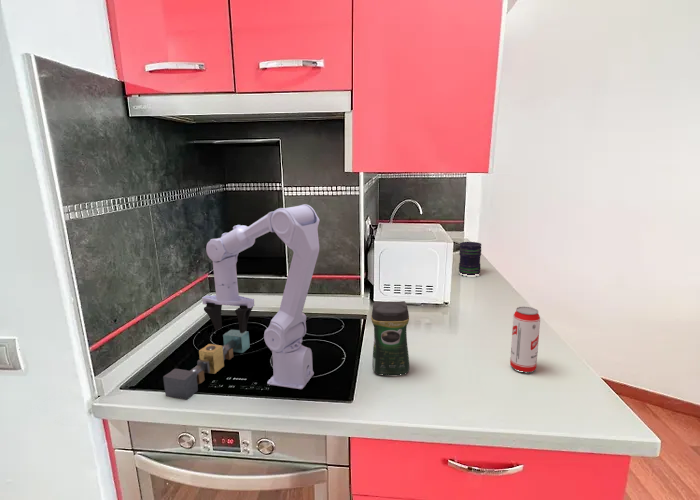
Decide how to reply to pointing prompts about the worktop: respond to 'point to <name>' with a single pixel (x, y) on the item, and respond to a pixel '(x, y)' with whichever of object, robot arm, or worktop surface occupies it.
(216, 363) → the block
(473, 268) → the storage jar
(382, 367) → the coffee jar
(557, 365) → the worktop surface
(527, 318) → the beer can
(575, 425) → the worktop surface
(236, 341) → the shaft bench
